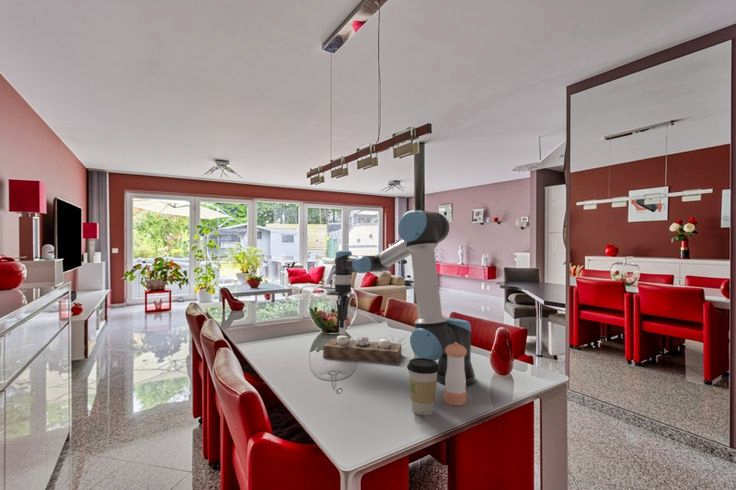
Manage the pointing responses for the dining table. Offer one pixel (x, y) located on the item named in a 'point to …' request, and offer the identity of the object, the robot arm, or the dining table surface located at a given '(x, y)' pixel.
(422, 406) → the coffee cup
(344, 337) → the left knob
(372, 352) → the block
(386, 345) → the right knob
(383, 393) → the dining table surface
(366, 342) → the pot dial
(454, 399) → the salt shaker
